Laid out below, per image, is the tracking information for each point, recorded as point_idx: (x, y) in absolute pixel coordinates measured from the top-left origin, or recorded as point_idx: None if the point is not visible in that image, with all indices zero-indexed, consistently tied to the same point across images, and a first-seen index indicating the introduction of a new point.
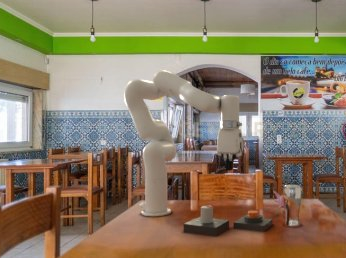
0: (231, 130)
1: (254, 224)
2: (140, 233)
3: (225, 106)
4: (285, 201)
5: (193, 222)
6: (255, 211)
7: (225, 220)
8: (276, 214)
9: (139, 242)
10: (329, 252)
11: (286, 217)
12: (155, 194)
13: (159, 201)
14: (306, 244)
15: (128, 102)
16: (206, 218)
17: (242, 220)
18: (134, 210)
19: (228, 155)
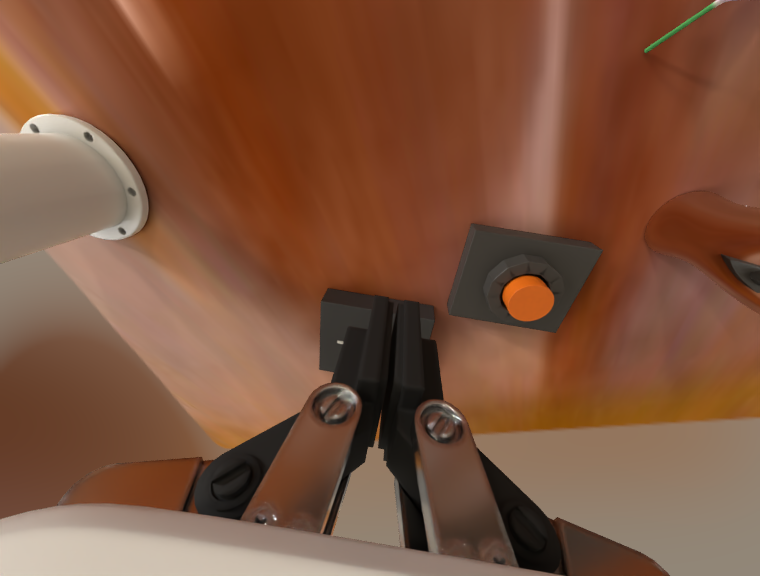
0: None
1: (523, 324)
2: (240, 372)
3: None
4: (738, 300)
5: (337, 356)
6: (540, 299)
7: (423, 326)
8: (654, 45)
9: (282, 412)
10: (694, 421)
11: (676, 253)
12: (34, 251)
13: (79, 230)
14: (655, 389)
15: None
16: None
17: (477, 289)
18: None
19: (335, 488)
